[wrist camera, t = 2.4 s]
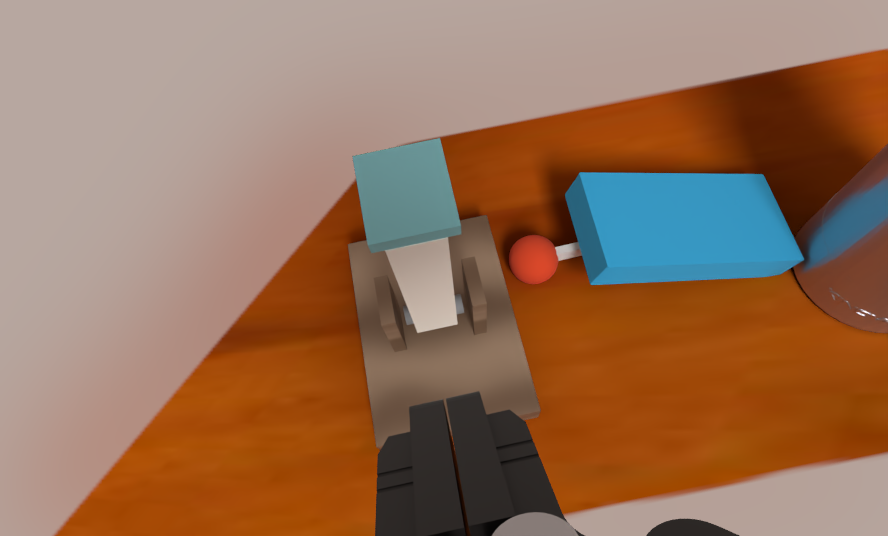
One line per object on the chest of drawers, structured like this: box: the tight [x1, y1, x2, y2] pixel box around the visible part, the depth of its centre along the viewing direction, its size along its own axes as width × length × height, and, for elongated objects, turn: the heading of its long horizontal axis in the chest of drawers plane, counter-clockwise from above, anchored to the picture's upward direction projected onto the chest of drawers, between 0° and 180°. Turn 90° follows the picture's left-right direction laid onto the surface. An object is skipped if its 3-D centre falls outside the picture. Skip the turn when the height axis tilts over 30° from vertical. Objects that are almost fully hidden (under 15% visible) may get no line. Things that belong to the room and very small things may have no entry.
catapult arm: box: [353, 138, 464, 333], centre depth 28 cm, size 4×4×14 cm
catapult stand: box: [348, 215, 541, 450], centre depth 35 cm, size 14×10×7 cm
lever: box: [509, 172, 804, 285], centre depth 38 cm, size 7×7×18 cm
